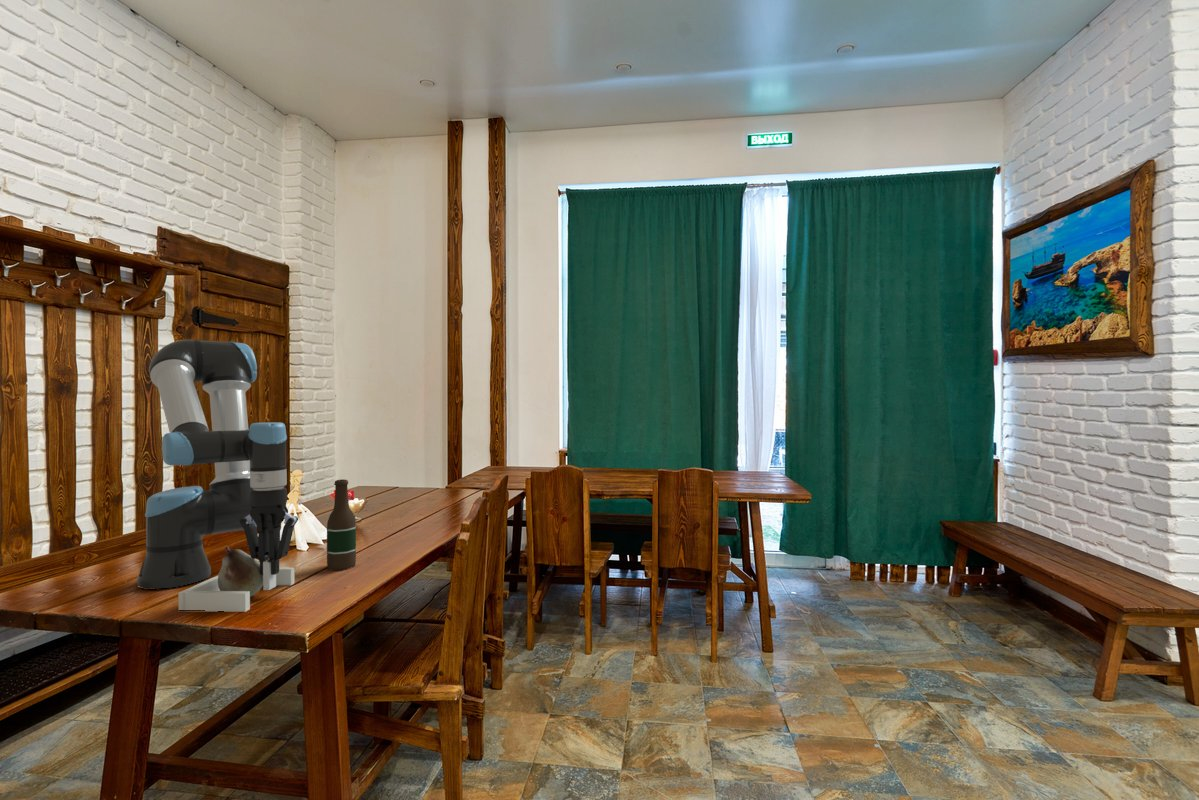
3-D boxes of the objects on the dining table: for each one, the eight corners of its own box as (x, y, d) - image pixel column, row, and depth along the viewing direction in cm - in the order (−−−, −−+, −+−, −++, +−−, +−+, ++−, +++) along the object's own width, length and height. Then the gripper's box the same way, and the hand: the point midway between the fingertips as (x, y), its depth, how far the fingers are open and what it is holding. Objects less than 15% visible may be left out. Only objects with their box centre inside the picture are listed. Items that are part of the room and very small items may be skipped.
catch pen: (178, 611, 125) (178, 592, 125) (236, 582, 144) (236, 567, 144) (245, 611, 125) (245, 593, 125) (294, 583, 144) (294, 567, 144)
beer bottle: (349, 570, 154) (348, 482, 154) (320, 570, 155) (320, 482, 154) (361, 562, 162) (361, 478, 162) (334, 562, 162) (334, 478, 162)
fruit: (214, 596, 135) (212, 545, 135) (259, 586, 141) (257, 538, 141) (224, 607, 128) (222, 553, 127) (271, 596, 134) (270, 545, 134)
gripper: (230, 490, 131) (232, 593, 131) (286, 490, 130) (287, 593, 131) (251, 485, 138) (252, 582, 138) (304, 485, 138) (305, 582, 138)
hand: (269, 587), depth 134 cm, fingers closed
